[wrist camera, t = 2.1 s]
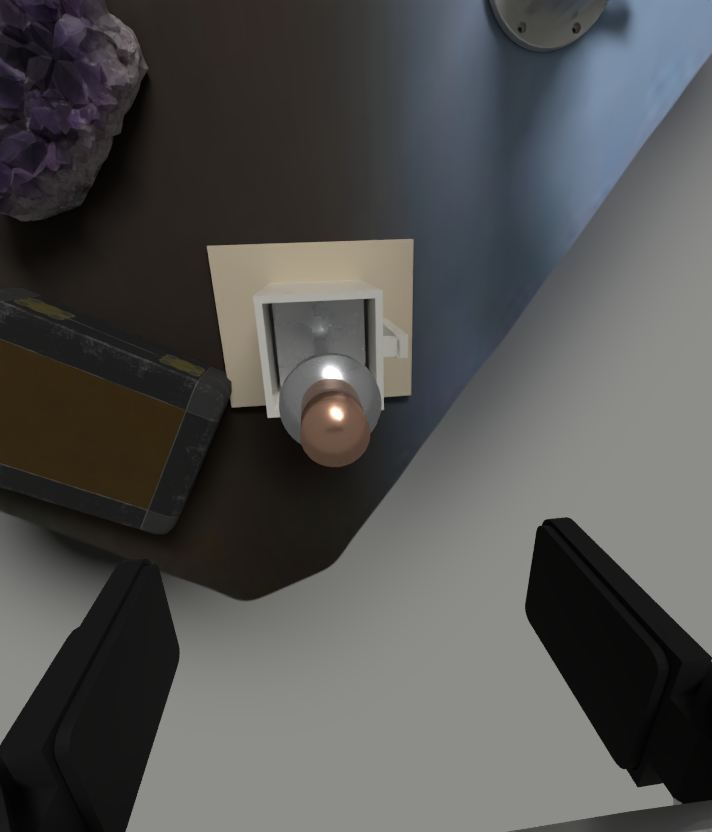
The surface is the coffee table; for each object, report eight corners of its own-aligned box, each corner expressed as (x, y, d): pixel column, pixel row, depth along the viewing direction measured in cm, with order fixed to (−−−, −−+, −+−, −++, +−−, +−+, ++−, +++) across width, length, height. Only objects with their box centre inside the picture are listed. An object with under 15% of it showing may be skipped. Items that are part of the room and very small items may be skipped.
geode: (97, 258, 44) (23, 254, 34) (-10, 193, 42) (-120, 170, 32) (175, 57, 38) (112, -15, 28) (54, -29, 36) (-57, -136, 27)
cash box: (-24, 441, 49) (-81, 472, 42) (12, 280, 44) (-46, 285, 37) (184, 508, 56) (166, 545, 48) (239, 375, 50) (227, 395, 43)
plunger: (362, 298, 37) (423, 343, 18) (365, 383, 40) (419, 502, 21) (272, 302, 36) (233, 354, 17) (281, 389, 39) (257, 517, 20)
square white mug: (410, 239, 46) (460, 231, 31) (408, 392, 53) (448, 445, 38) (209, 246, 44) (160, 241, 29) (233, 404, 51) (203, 465, 36)
